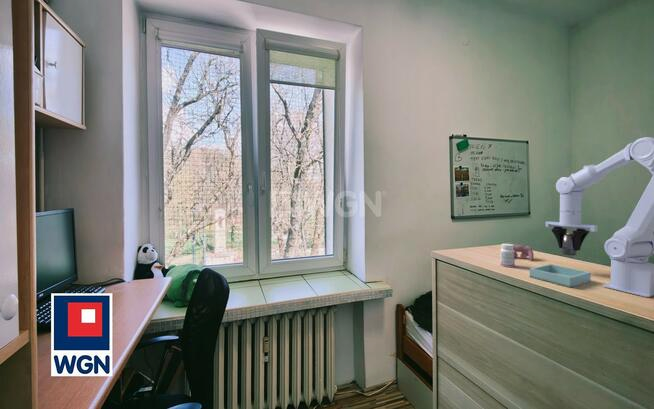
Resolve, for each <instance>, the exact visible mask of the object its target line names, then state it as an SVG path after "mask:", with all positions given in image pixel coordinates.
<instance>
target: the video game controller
mask: <svg viewBox="0 0 654 409" xmlns="http://www.w3.org/2000/svg"><path fill="white" fill-rule="evenodd" d="M513 245H514V249H513V250H514V251H515V259H516V258H518V256H520V258H521V259H524V260H525V259H527V257H528V258H529V261H531V262H532V261H534V257H535V256H534V252H533V249H532V248H531V247H530V246H527V245H523V244H513ZM518 253H520V255H519V254H518Z"/></svg>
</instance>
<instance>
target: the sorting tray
mask: <svg viewBox="0 0 654 409" xmlns="http://www.w3.org/2000/svg"><path fill="white" fill-rule="evenodd" d="M591 274H592V272H590V271H585V270H580V269H576V268H571V267H568V266H567V267H566V266H562V265H556V264H552V263H547V264H543V265H539V266H535V267H530V268H529V278H532V279H535V280H539V281H543V282H546V283H551V284H554V285H558V286H561V287H565V288H568V289H569V288H570V289H571V288H573V287H577V286H580V285H584V284H587V283H590V282H591Z"/></svg>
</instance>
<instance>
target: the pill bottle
mask: <svg viewBox="0 0 654 409" xmlns="http://www.w3.org/2000/svg"><path fill="white" fill-rule="evenodd" d="M514 245H515V244H513V243H501V248H500V249H499V250H500V253H499V254H500V256H499V259H500V261H499V265H500V266H502V267H505V268H514V267H515V266H516V265H515V262H516V261H515V259H516V258H515V251H514V250H513V249H514Z"/></svg>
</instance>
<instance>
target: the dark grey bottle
mask: <svg viewBox="0 0 654 409" xmlns="http://www.w3.org/2000/svg"><path fill="white" fill-rule="evenodd" d="M561 254H562V255H564V256H573V257H574V256H577V255H578V251H575V250H574V235H573V232H566V234H562V248H561Z"/></svg>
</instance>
